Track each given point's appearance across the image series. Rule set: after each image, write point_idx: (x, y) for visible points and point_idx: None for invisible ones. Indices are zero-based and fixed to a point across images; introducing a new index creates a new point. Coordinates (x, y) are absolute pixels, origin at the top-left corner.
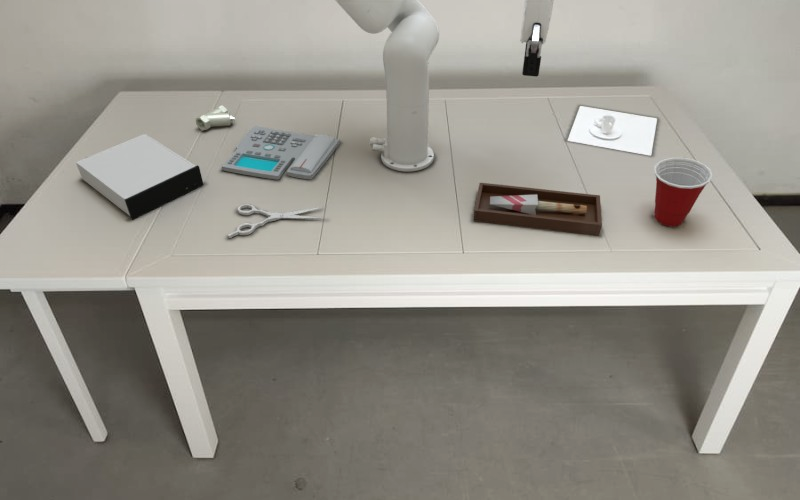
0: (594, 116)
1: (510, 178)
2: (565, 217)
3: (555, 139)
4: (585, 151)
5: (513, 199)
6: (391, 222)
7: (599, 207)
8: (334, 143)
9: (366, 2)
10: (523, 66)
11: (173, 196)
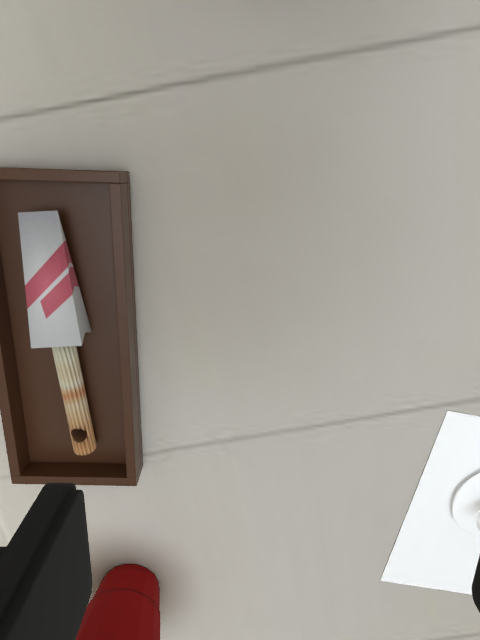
0: None
1: (226, 261)
2: (59, 401)
3: (454, 380)
4: (392, 451)
5: (50, 280)
6: None
7: (82, 482)
8: None
9: None
10: (9, 545)
11: None
